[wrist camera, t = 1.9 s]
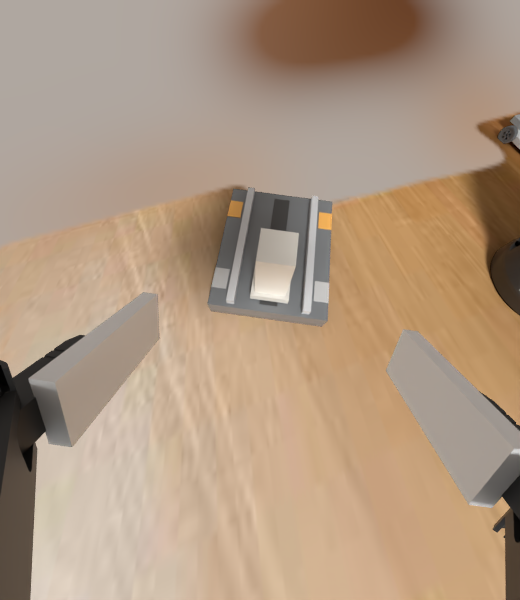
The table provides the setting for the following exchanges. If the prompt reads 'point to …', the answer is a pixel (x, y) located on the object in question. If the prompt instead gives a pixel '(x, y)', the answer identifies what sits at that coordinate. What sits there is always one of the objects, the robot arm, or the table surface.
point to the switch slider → (274, 265)
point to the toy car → (511, 132)
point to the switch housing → (243, 251)
